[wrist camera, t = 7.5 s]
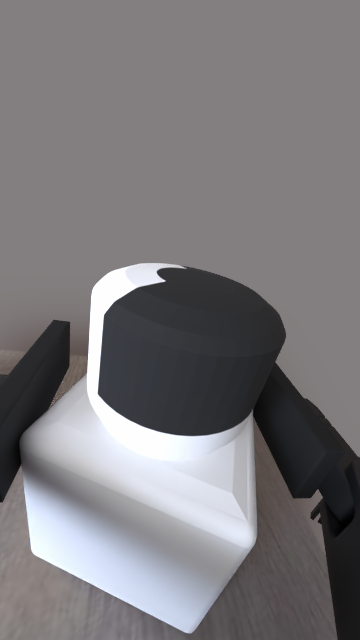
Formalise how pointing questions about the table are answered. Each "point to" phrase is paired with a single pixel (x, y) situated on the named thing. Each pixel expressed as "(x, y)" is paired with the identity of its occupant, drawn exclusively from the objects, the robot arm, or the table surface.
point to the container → (156, 441)
